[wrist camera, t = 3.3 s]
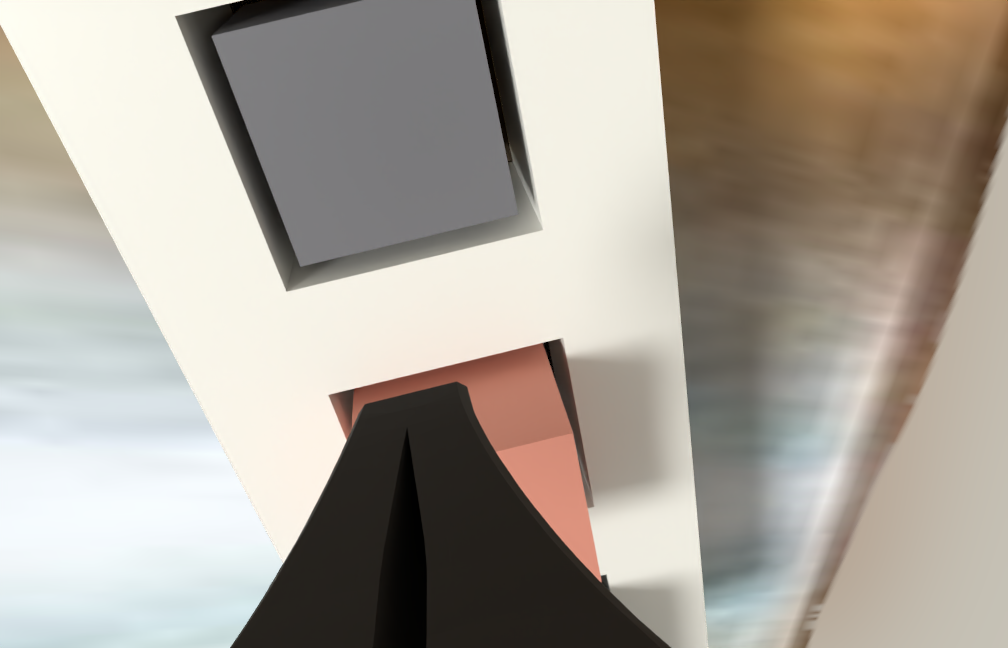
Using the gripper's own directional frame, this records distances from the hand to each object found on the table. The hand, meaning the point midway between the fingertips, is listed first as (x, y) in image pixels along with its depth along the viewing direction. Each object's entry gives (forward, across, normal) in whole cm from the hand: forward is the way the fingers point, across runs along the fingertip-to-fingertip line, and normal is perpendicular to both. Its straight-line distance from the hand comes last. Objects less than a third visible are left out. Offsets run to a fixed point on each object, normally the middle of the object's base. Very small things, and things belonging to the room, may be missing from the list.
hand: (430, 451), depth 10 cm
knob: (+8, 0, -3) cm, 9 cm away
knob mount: (+9, 0, +5) cm, 10 cm away
